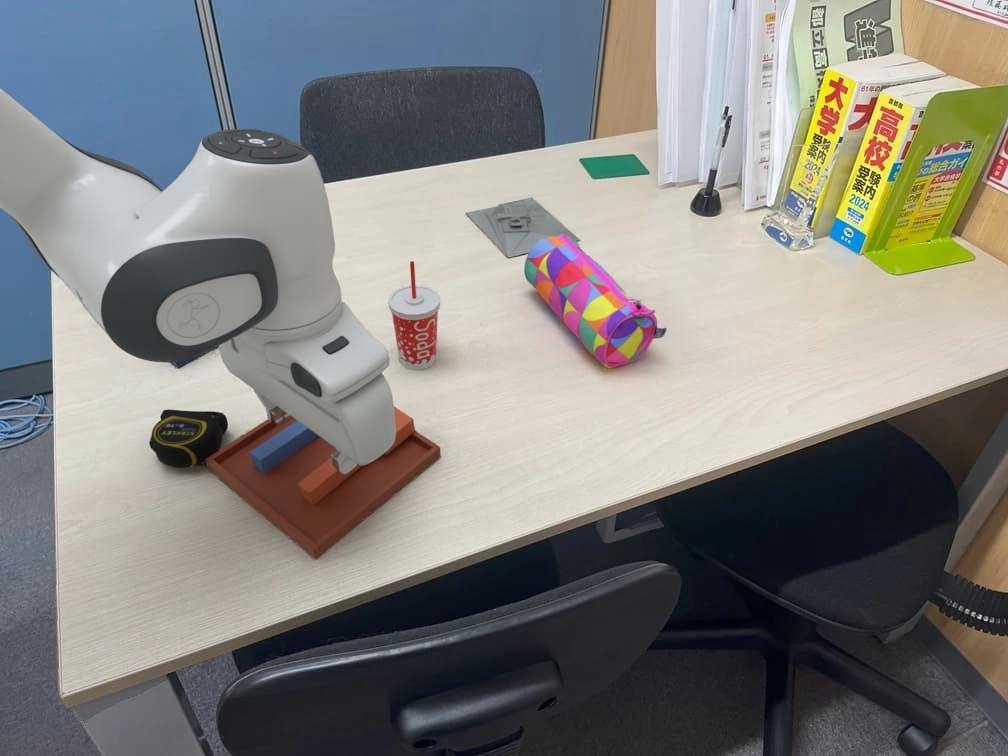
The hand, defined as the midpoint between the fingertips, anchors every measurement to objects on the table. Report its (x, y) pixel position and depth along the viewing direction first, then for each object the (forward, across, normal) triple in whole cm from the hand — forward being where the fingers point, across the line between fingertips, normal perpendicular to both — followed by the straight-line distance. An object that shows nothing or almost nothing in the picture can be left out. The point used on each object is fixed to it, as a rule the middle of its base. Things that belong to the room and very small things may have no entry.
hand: (312, 442), depth 68 cm
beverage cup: (+7, -8, +22) cm, 24 cm away
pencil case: (+7, +5, +42) cm, 43 cm away
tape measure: (+8, -16, -5) cm, 18 cm away
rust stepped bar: (+6, 0, +6) cm, 8 cm away
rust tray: (+7, -3, +3) cm, 8 cm away
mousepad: (+7, -23, +57) cm, 62 cm away
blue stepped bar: (+7, -7, +5) cm, 11 cm away
